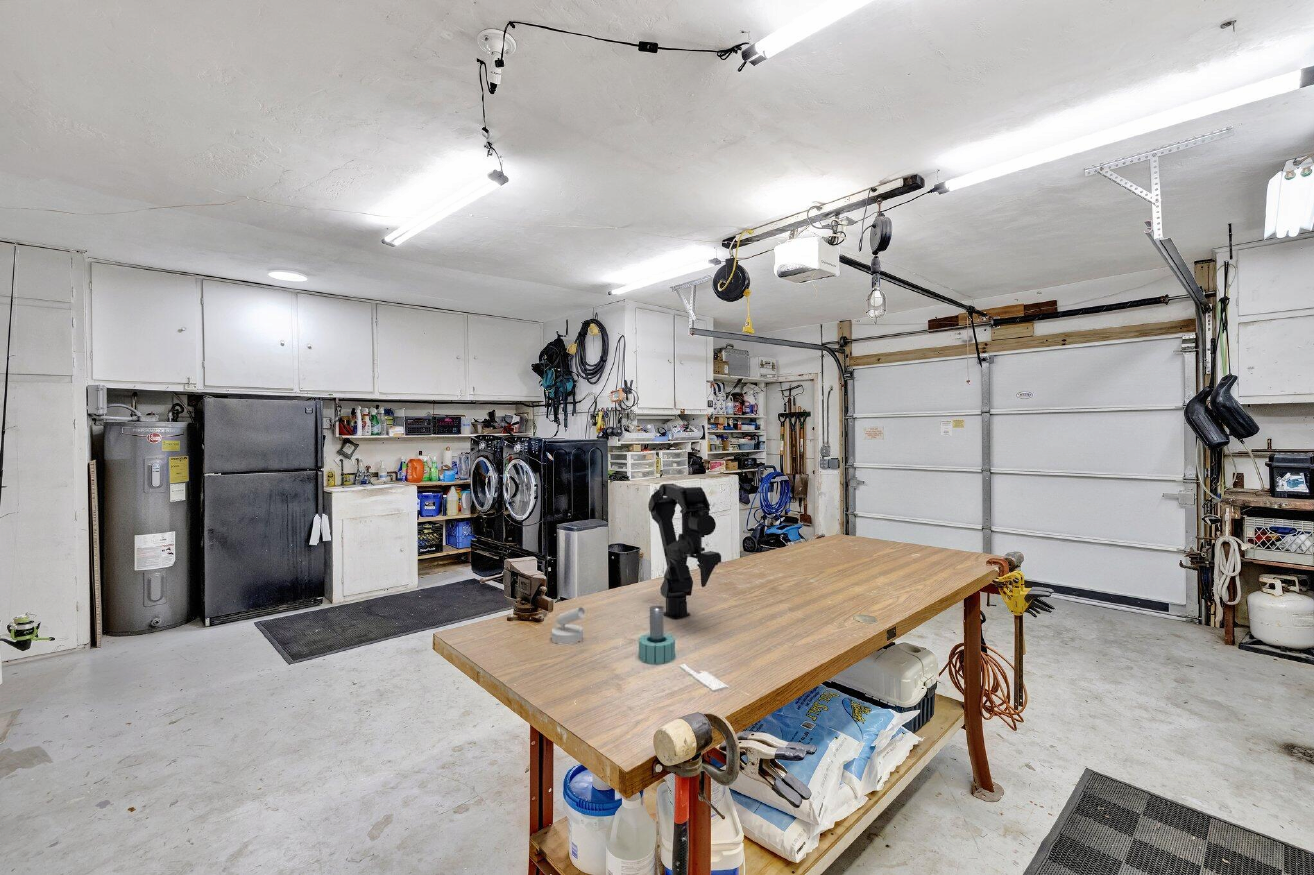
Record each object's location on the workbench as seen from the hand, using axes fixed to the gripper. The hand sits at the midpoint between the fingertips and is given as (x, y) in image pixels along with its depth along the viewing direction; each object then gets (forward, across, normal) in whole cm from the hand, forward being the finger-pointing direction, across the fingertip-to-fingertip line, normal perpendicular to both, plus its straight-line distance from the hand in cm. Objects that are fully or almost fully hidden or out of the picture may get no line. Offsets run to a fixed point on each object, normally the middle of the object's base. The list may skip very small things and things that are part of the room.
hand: (692, 583), depth 161 cm
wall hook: (+13, -16, -32) cm, 38 cm away
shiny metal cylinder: (+13, +9, -21) cm, 26 cm away
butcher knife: (+14, +25, -20) cm, 35 cm away
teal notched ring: (+13, +9, -21) cm, 26 cm away
